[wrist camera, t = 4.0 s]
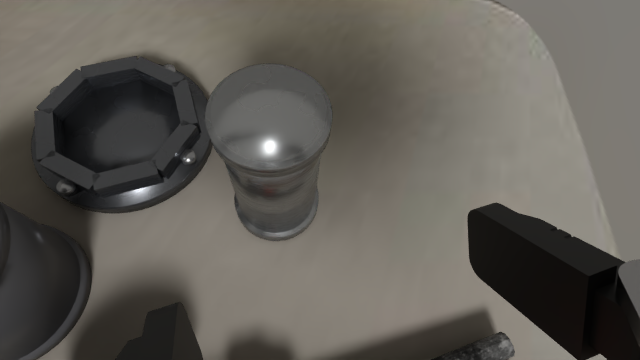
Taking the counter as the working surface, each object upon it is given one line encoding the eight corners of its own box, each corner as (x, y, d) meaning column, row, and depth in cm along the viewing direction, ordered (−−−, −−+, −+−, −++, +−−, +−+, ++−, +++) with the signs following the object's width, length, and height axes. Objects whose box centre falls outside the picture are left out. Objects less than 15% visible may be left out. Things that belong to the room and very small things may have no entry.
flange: (44, 235, 22) (20, 223, 20) (37, 90, 27) (16, 68, 25) (230, 185, 25) (225, 170, 23) (196, 58, 29) (189, 35, 27)
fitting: (247, 252, 23) (220, 181, 14) (228, 178, 25) (192, 74, 16) (328, 227, 24) (351, 146, 15) (303, 158, 26) (310, 49, 17)
